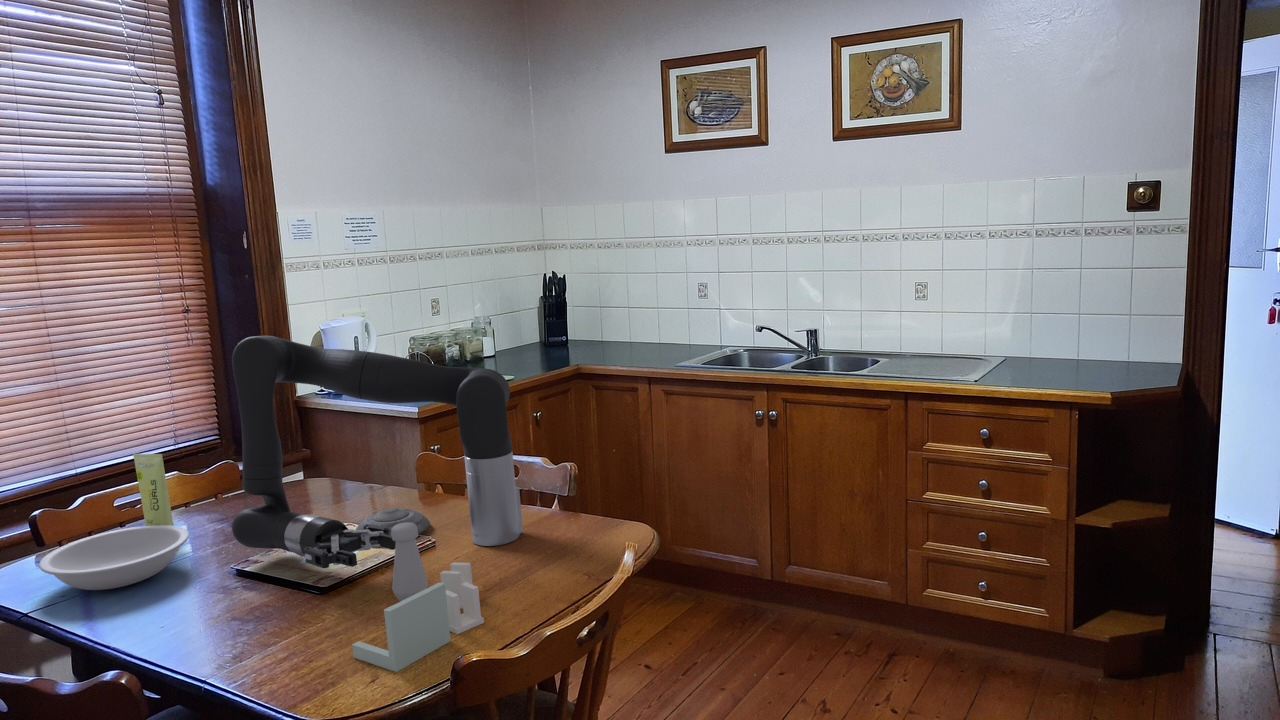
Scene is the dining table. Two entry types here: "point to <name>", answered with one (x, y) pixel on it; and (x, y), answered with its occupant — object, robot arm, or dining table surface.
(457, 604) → the clip
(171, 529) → the soup bowl
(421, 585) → the salt shaker
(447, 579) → the clip
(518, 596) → the dining table surface
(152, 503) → the tube
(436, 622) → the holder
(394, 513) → the flying saucer
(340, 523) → the robot arm
